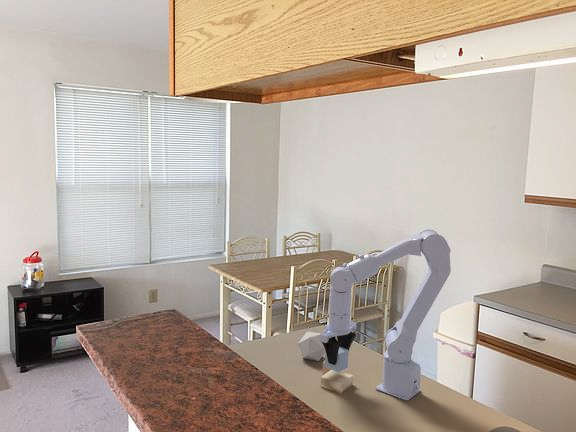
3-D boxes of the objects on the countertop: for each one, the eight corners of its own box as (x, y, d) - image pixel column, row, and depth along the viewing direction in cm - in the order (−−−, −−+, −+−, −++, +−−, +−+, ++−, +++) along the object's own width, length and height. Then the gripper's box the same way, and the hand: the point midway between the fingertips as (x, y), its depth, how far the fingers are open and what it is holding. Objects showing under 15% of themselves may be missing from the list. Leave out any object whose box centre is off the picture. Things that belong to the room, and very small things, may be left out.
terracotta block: (339, 372, 140) (340, 359, 139) (335, 378, 136) (336, 364, 136) (326, 370, 141) (327, 357, 141) (322, 375, 138) (322, 362, 137)
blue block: (347, 367, 131) (348, 349, 131) (338, 372, 128) (339, 354, 128) (334, 362, 134) (335, 345, 134) (324, 367, 131) (325, 349, 130)
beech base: (352, 385, 132) (353, 375, 132) (341, 394, 127) (341, 383, 127) (332, 379, 136) (332, 368, 136) (320, 387, 131) (320, 376, 130)
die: (330, 358, 151) (319, 329, 155) (331, 354, 143) (319, 324, 147) (306, 367, 151) (295, 338, 155) (305, 364, 143) (294, 333, 147)
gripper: (342, 303, 137) (340, 349, 139) (311, 314, 126) (309, 364, 128) (363, 309, 133) (361, 356, 134) (333, 321, 122) (331, 372, 123)
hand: (337, 361), depth 131 cm, fingers closed on blue block, 4 cm apart
